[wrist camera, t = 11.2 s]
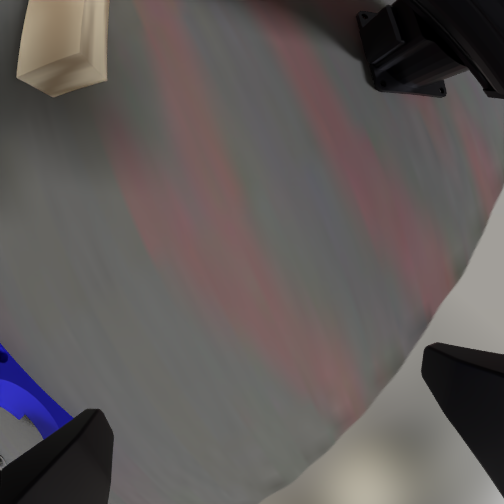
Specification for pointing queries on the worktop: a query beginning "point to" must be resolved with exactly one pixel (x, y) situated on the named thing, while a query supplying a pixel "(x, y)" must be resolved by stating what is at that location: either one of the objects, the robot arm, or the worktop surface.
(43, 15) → the batten
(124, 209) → the worktop surface
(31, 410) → the cable clip
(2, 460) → the impact wrench
